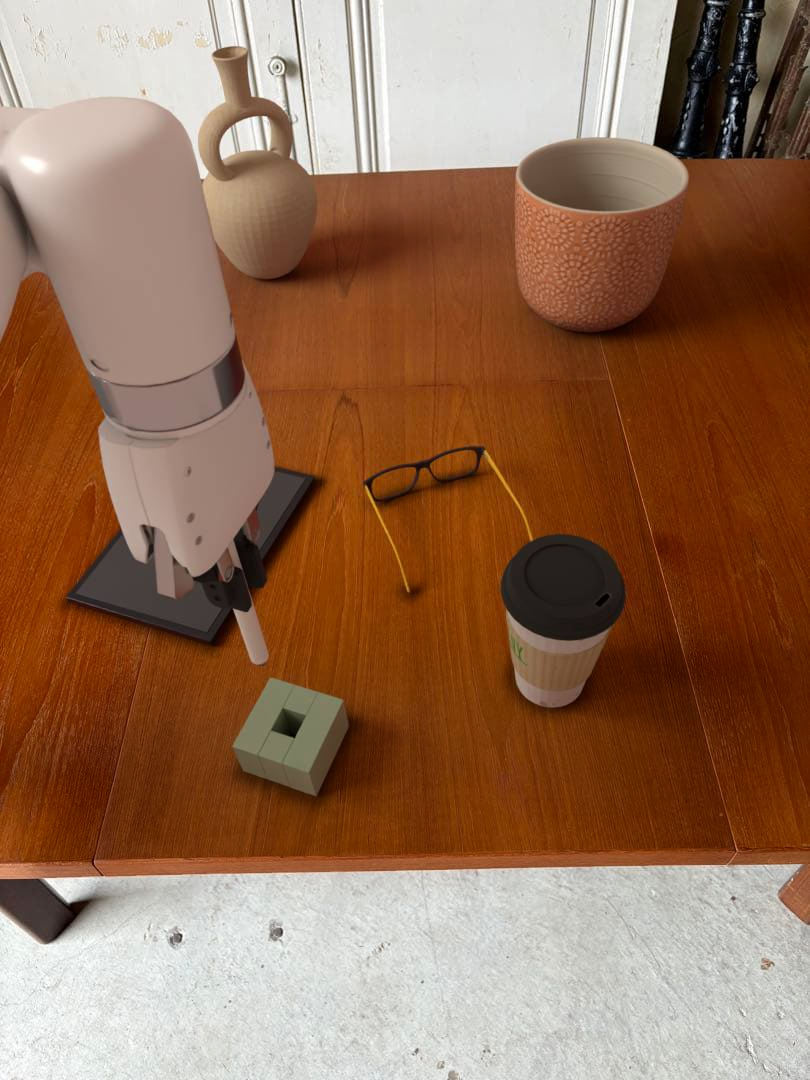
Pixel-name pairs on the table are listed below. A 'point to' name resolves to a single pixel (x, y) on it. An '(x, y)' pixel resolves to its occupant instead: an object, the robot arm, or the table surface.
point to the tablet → (133, 586)
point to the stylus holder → (282, 756)
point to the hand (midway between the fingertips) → (237, 591)
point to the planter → (595, 229)
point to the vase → (255, 181)
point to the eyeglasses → (426, 464)
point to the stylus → (250, 623)
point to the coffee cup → (559, 614)
